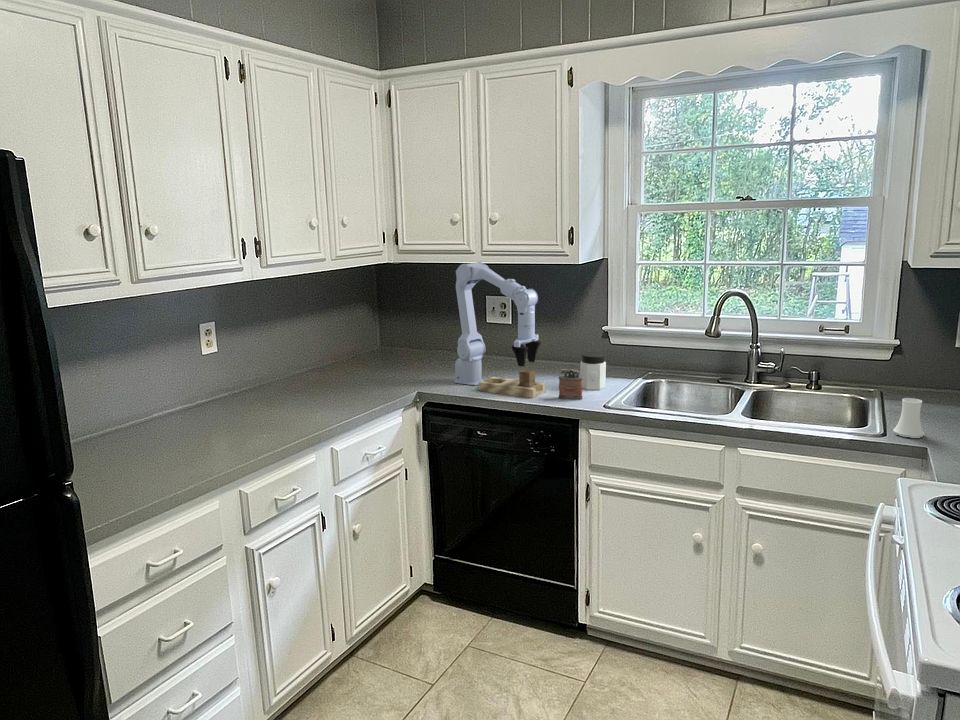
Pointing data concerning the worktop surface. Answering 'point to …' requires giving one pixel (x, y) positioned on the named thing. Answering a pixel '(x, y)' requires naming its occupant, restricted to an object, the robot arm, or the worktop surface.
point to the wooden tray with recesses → (510, 387)
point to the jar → (593, 370)
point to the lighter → (570, 385)
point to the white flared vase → (910, 418)
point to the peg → (527, 378)
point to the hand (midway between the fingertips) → (526, 363)
